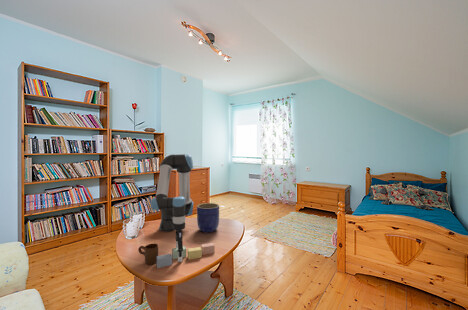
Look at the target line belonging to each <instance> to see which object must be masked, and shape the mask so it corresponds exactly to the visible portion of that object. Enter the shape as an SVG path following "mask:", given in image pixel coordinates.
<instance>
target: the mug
mask: <svg viewBox="0 0 468 310" xmlns="http://www.w3.org/2000/svg"><path fill="white" fill-rule="evenodd" d="M143 250H144V251H143ZM138 253H139V254H140V255H143V256H144V263H145V265H147V266H149V265H150V266H151V265H154V264H157V256H159V244H158V243H149V244H146V245H139V247H138Z"/></svg>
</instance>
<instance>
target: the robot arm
mask: <svg viewBox="0 0 468 310" xmlns="http://www.w3.org/2000/svg"><path fill="white" fill-rule="evenodd" d="M158 169H159V176H158V180H157V187H156V193H155V197H152V198H151V200H150V209H151V210H155V211H160V213H161V214H160V215H161V216H160V217H161V219H160V223H159V225H158V230H159V231H160V232H162V233H167V232H168V233H169V232H173V231H175V248H178V250H177V252H178V258H177V262H178V263H181V262H183V261H184V260H183V258H184V257H183V246H184V244H183V243H184V242H183V237H184V236H183V233H184V232H183V230H185V228H186V217H188V216H192V214H193V210H194V201H193V200H192V198H191V189H190V188H191V186H190V184H191V183H190V182H191V181H190V180H191V178H190V177H191V176H190V175H191V174H190V173H191V172H192V170H193V169H194V163H193V157H192V154H186V153H185V154H169V155H167V156H166V157H164V158H163V159H162V160H161V162H160V164H159V168H158ZM173 170H176V173H178V192H179V196H175V197H168V195H169V188H170V180H171V179H170V178H171V172H172V171H173Z"/></svg>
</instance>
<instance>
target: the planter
mask: <svg viewBox="0 0 468 310" xmlns="http://www.w3.org/2000/svg"><path fill="white" fill-rule="evenodd" d="M196 222H197V227H198V229H199V230H200V232H202V233H206V234H209V233H214V232H216V230H217V229H218V227H219V225H220V205H219V204H217V203H214V202H206V203H205V202H203V203H200V204H198V205H197V206H196Z"/></svg>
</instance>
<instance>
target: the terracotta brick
mask: <svg viewBox="0 0 468 310" xmlns="http://www.w3.org/2000/svg"><path fill="white" fill-rule="evenodd" d="M200 247H201V249H202V256H204V255H210V254H215V249H216V248H215V247H216V246H215V243H214V242H209V243H203V244H200Z"/></svg>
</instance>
